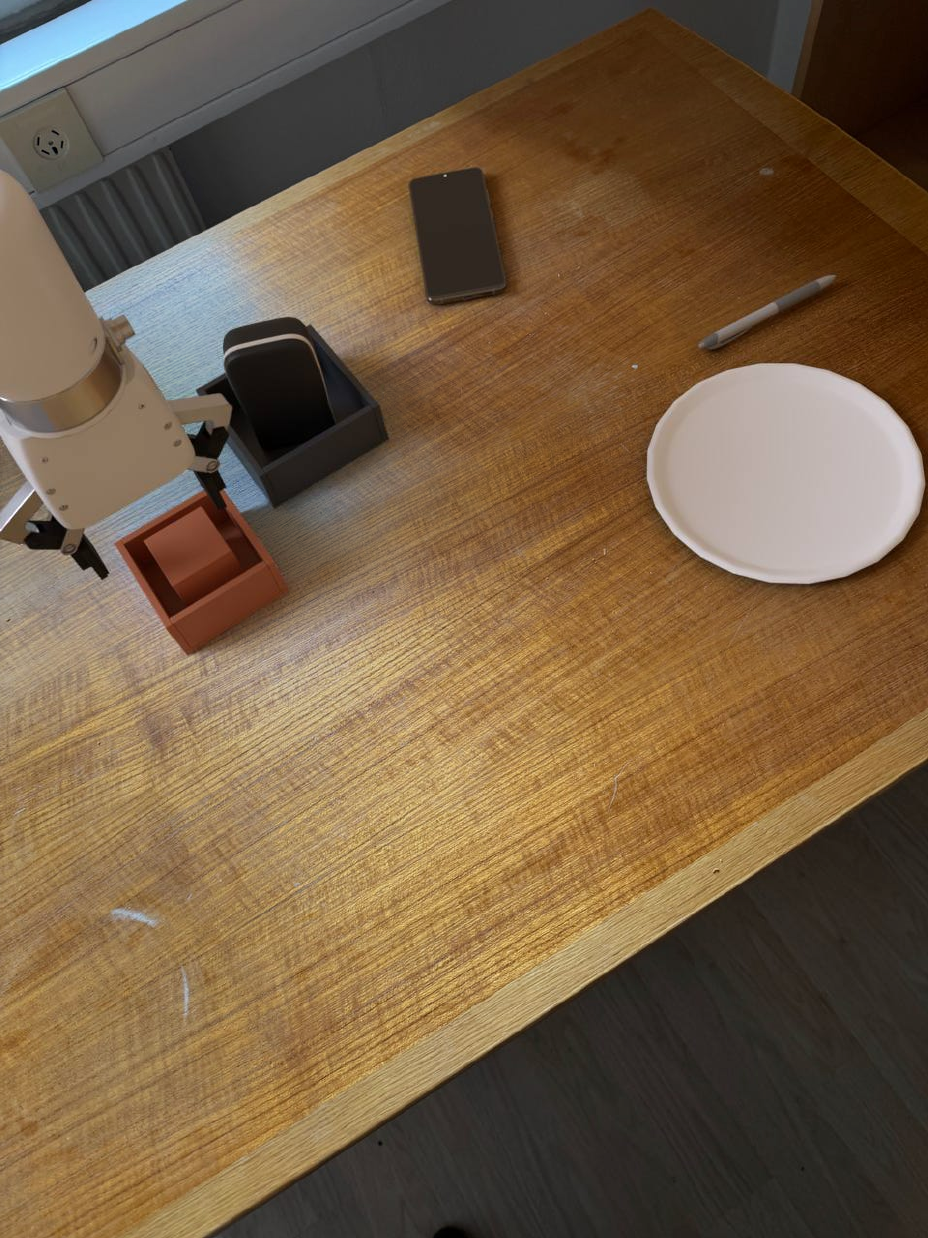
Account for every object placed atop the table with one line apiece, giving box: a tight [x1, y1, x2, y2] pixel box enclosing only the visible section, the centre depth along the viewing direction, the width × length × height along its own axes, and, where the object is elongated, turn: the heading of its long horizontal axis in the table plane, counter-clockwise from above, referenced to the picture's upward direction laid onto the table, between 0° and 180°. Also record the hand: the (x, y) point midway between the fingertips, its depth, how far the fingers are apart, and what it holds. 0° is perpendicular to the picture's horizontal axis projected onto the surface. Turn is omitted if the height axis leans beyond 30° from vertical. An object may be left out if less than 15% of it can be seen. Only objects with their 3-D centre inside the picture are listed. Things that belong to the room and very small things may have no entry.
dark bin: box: [195, 323, 390, 509], centre depth 86 cm, size 11×11×4 cm
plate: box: [646, 362, 926, 586], centre depth 80 cm, size 21×21×1 cm
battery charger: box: [222, 316, 337, 450], centre depth 83 cm, size 7×4×11 cm, turn 101°
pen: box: [697, 274, 837, 350], centre depth 88 cm, size 1×14×1 cm, turn 119°
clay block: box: [144, 507, 244, 607], centre depth 79 cm, size 5×5×5 cm
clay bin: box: [113, 489, 290, 655], centre depth 80 cm, size 9×9×4 cm
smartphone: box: [408, 166, 508, 306], centre depth 96 cm, size 7×1×16 cm
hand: (157, 529), depth 76 cm, fingers open, 9 cm apart
